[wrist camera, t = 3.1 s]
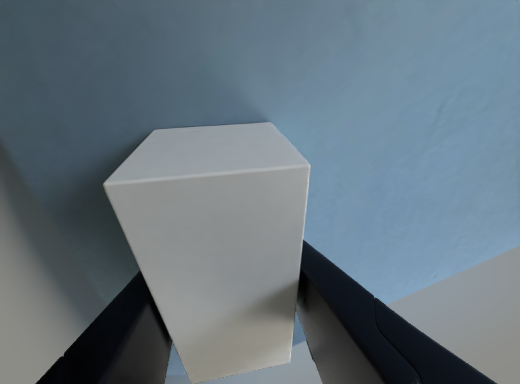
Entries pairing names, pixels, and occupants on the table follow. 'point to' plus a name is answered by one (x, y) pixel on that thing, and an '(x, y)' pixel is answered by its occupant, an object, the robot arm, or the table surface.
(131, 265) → the table surface
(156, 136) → the block
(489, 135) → the table surface
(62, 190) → the table surface
